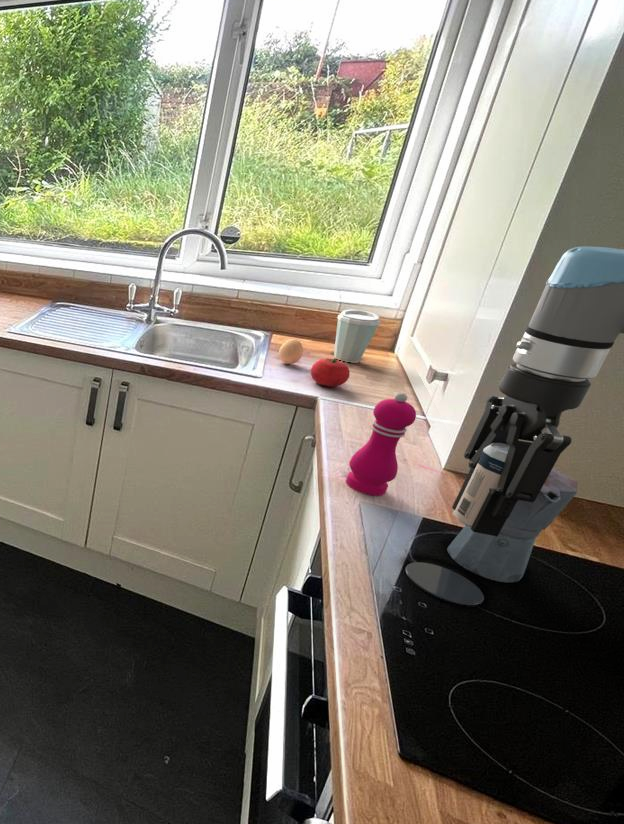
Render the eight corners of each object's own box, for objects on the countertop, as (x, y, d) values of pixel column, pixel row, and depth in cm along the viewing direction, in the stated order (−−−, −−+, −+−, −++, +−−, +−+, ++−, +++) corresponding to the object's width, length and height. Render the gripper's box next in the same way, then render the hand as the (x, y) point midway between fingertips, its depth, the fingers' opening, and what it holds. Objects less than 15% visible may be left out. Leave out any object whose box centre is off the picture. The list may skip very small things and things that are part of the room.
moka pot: (466, 585, 87) (525, 471, 80) (423, 527, 101) (470, 424, 93) (547, 603, 84) (617, 487, 77) (492, 541, 98) (547, 436, 90)
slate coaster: (495, 596, 86) (496, 594, 85) (463, 614, 82) (464, 611, 82) (424, 558, 93) (425, 556, 93) (392, 573, 89) (393, 571, 89)
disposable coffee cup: (367, 368, 175) (384, 320, 169) (324, 360, 180) (340, 314, 174) (364, 358, 183) (381, 312, 177) (323, 351, 188) (338, 306, 183)
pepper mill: (342, 473, 117) (377, 382, 109) (387, 485, 113) (426, 392, 105) (342, 488, 111) (378, 393, 104) (389, 502, 108) (430, 405, 100)
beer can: (493, 537, 80) (533, 462, 75) (448, 521, 83) (484, 448, 79) (497, 524, 83) (536, 451, 78) (454, 508, 86) (488, 437, 82)
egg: (273, 363, 176) (280, 338, 173) (279, 358, 180) (286, 334, 177) (295, 368, 172) (303, 343, 169) (301, 364, 176) (309, 339, 173)
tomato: (350, 387, 160) (360, 360, 157) (336, 393, 156) (346, 365, 152) (315, 376, 167) (324, 350, 164) (301, 382, 162) (309, 355, 159)
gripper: (477, 345, 83) (415, 484, 92) (556, 391, 67) (473, 552, 76) (544, 353, 81) (474, 494, 90) (642, 403, 65) (545, 567, 74)
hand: (473, 521), depth 83 cm, fingers closed on beer can, 5 cm apart
